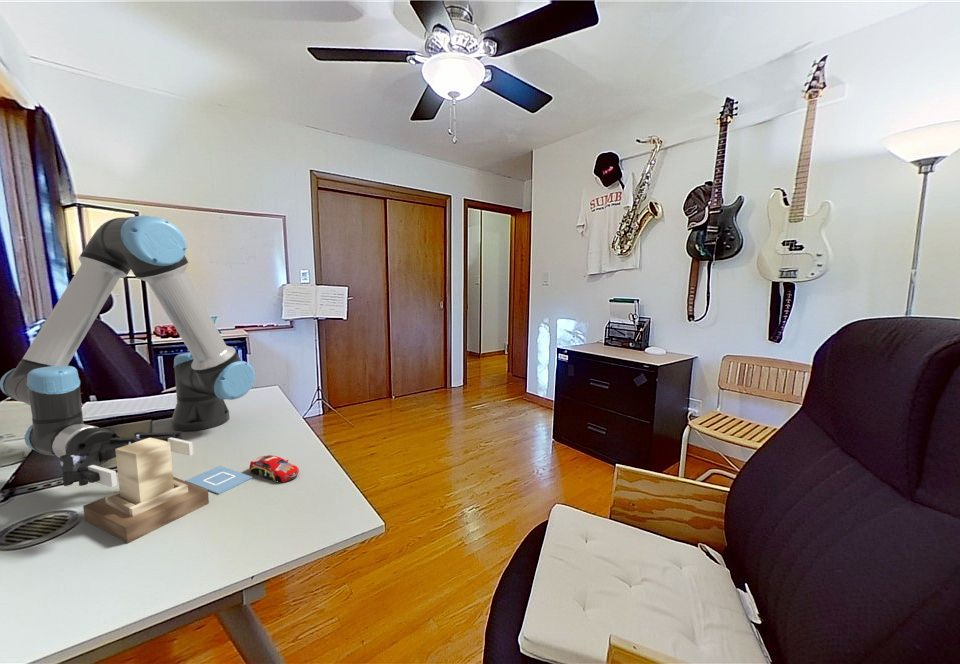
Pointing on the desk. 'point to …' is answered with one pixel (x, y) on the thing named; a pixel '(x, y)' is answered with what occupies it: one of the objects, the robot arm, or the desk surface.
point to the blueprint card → (219, 479)
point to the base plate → (144, 510)
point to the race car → (273, 468)
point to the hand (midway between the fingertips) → (156, 462)
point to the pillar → (144, 470)
